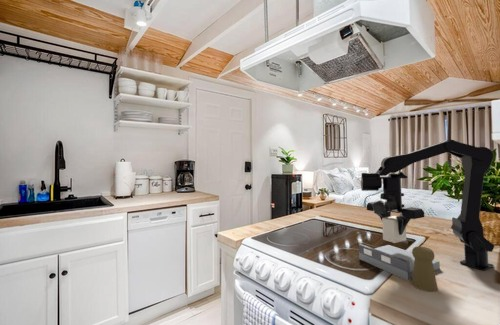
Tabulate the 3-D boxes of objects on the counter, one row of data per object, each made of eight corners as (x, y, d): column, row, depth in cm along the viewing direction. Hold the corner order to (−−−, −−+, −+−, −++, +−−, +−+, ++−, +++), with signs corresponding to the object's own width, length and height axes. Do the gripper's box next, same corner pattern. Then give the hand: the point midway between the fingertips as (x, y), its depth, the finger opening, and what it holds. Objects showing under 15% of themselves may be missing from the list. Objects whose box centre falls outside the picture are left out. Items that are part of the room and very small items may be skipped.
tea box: (394, 243, 84) (393, 220, 84) (382, 239, 88) (381, 217, 88) (406, 239, 86) (405, 218, 86) (394, 236, 90) (393, 215, 90)
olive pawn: (412, 278, 72) (411, 242, 72) (438, 284, 69) (436, 246, 69) (410, 287, 68) (409, 249, 68) (437, 293, 64) (435, 253, 64)
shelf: (388, 251, 94) (388, 237, 94) (439, 268, 78) (438, 252, 78) (359, 259, 88) (358, 244, 88) (407, 280, 71) (406, 262, 71)
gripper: (355, 190, 92) (357, 229, 92) (402, 195, 75) (404, 244, 75) (375, 187, 97) (377, 225, 97) (424, 192, 80) (426, 238, 80)
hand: (393, 232), depth 87 cm, fingers closed on tea box, 5 cm apart
